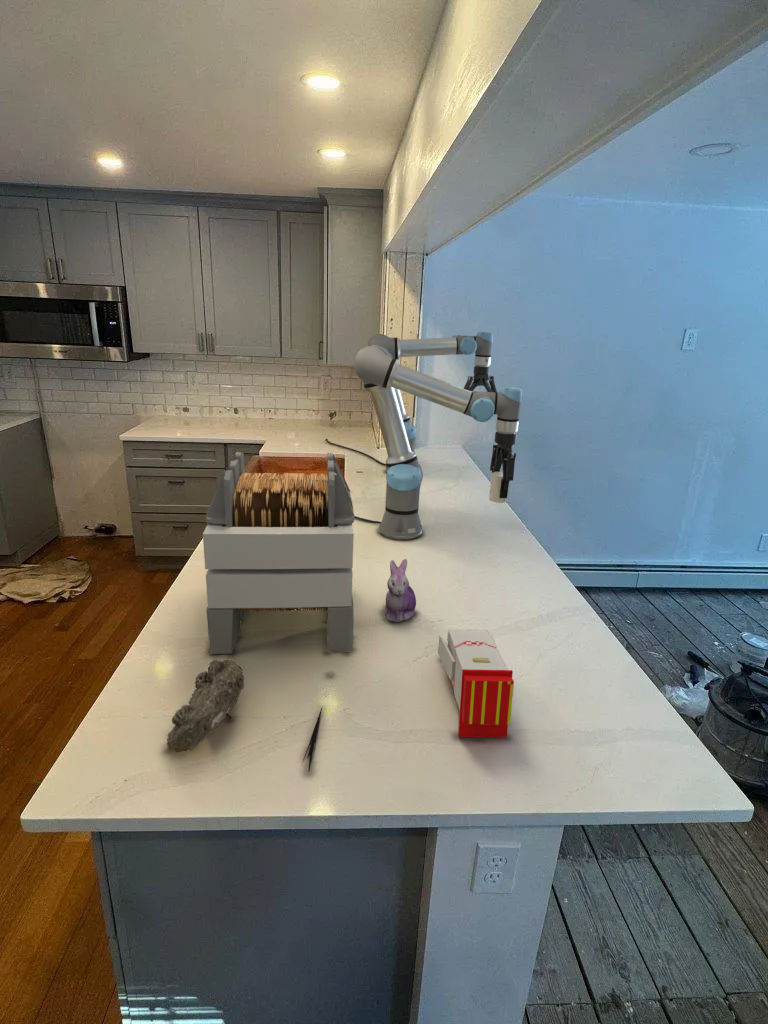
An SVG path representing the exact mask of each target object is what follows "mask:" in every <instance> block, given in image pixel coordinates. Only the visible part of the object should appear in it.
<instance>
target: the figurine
mask: <svg viewBox="0 0 768 1024" xmlns="http://www.w3.org/2000/svg"><path fill="white" fill-rule="evenodd" d="M407 567H408V559H406V558H404V559H403V560H402V561H401V563H400V565H399V566H398V565H397V563H396V562H395V561H394V560H393V559H391V560H390V561H389V570H390V576H389V578H388V579H387V589H388V591H387V592H386V594H385V595H386V596H385V607H384V615H385V616H386V620H387V621H391V622H395V623H400V622H402V621H406V620H409V619H410V618H411V617H413V616H414V615H415V610H416V606H417V597H416V593H415V591H414V590H413V587H411V586H410V582H409V579H408V577H407V574H406V571H407Z"/></svg>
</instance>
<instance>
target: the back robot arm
mask: <svg viewBox="0 0 768 1024" xmlns="http://www.w3.org/2000/svg"><path fill="white" fill-rule="evenodd" d="M493 343H494V334H493V333H492V332H490V331H478V332H477V333H476V335H462V334H461V335H460V334H458V335H457V334H456V335H455V334H454V335H452V336H451V337H436V338H435V337H434V338H433V337H431V338H430V337H429V338H411V339H400V338H399V337H389V336H387V335H386V334H384V333H383V334H382V333H379V334H375V335H373V336H372V337H370V338H369V340H368V343H367V346H370V345H374V344H377V345H381V346H384V347H385V348H387V349H388V350H389V352H390V353H391V355H392V357H393V359H395V360H398V361H399V360H400V358H409V357H410V358H411V357H433V356H434V357H435V356H455V355H456V356H457V355H459V356H460V355H465V356H469V355H473V354H474V363H473V364H474V366H473V376H470V375H468V376H467V380H466V382H465V384H464V386H463V387H462V388H463V389H466V390H468V391H475V389H476V388H477V387H481V386H482V387H484V389H485V391H486V392H494V393H495V392H496V393H497V392H498V391H497V387H496V383H495V377H494V375H490V371H491V367H490V366H491V361H492V351H493ZM394 389H395V392H396V396H397V400H398V404H399V407H400V411H401V415H402V419H403V422H404V426H405V430H406V434H407V437H408V441H409V445H410V449H411V451H413V452H415V450H416V435H417V427H416V425H414V424H413V423H412V420H411V417H410V414H408V413H406V409H405V408H406V407H405V405H404V400H403V396H402V393H401V390H399V389H396V388H394ZM325 441H326V443H328V444H330V445H332V446H336V447H339V448H343V449H346V450H349V451H353V452H356V453H359V454H361V455H364V456H366V457H368V458H370V459H372V460H373V461H375V462H376V463H378V464H380V465H382V466H385V473H386V474H387V471H388V469H387V466H386V463H384V462H382V461H380V460H378V459H376V458H375V457H373V456H371V455H369V454H367V453H366V452H362V451H360V450H358V449H354V448H351V447H347V446H345V445H340V444H338V443H335V442H331V441H329V440H328V438H325ZM415 453H416V452H415Z"/></svg>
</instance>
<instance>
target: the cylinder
mask: <svg viewBox="0 0 768 1024" xmlns="http://www.w3.org/2000/svg"><path fill="white" fill-rule="evenodd" d="M490 478H491V479H490V487H489V497H488V499H489V502H492V503H496V504H505V503H507V502H508V499H509V494H508V495H507V498H499V496H500V488H501V479H503V471H500V472H493V473H492V472H491V477H490ZM510 483H511V481H509V485H510ZM509 490H510V486H509V487H508V493H509V492H510V491H509Z"/></svg>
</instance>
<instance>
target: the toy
mask: <svg viewBox="0 0 768 1024" xmlns="http://www.w3.org/2000/svg"><path fill="white" fill-rule="evenodd" d="M446 640H447V643H446V641H445V639H444V636H443V635H442V634H439V637H438V646H437V656H438V657H439V659H440V661H441V663H442V666H443V668H444V670H445V672H446V674H447V677H448V679H449V681H450V684H451V687H452V690H453V693H454V697H455V701H456V705H457V708H458V711H459V714H458V715H459V716H458V730H457V731H458V732H457V737H458V738H508V731H509V726H510V725H511V717H512V707H513V697H514V696H513V695H514V684H515V680H514V679H513V673H514V671H513V670H512V669H508V667H507V665H506V662H505V661H504V659H503V658H502V655H501V653H500V651H499V649H498V647H497V643H496V639H495V637H494V635H493V634H491V632H490V631H489V629H467V628H466V629H465V628H463V629H461V628H460V629H459V628H448V630H447V639H446Z"/></svg>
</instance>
